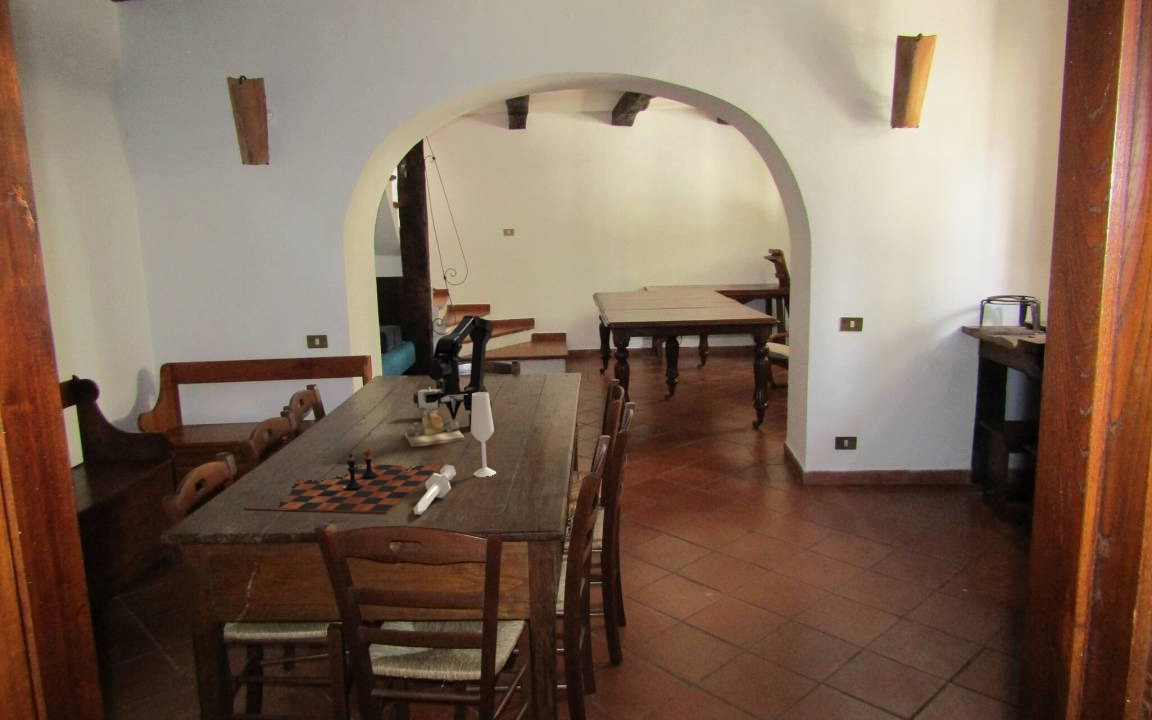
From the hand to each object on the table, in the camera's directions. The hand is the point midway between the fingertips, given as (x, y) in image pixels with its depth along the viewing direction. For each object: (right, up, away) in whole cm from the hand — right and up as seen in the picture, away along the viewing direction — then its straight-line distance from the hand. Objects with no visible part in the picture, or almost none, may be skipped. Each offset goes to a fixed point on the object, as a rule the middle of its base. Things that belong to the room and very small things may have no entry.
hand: (453, 419), depth 262 cm
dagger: (+5, -17, -59) cm, 61 cm away
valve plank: (-7, -7, +5) cm, 11 cm away
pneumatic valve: (-14, -2, +35) cm, 38 cm away
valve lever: (-7, 0, +2) cm, 7 cm away
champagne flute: (+15, -13, -36) cm, 42 cm away
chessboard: (-23, -17, -43) cm, 52 cm away
